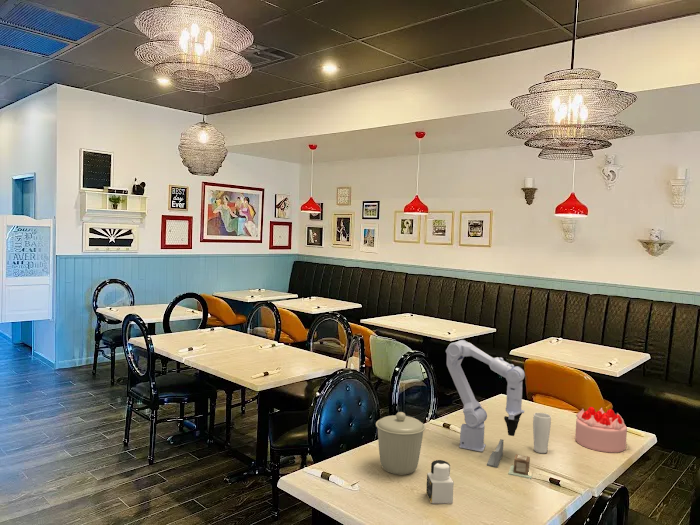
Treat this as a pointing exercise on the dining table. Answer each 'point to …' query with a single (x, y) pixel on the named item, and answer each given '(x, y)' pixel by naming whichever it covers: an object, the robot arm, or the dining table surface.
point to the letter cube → (521, 464)
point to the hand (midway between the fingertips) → (512, 432)
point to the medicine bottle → (440, 483)
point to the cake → (601, 430)
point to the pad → (511, 472)
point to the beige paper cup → (541, 431)
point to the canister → (399, 443)
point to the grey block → (496, 455)
